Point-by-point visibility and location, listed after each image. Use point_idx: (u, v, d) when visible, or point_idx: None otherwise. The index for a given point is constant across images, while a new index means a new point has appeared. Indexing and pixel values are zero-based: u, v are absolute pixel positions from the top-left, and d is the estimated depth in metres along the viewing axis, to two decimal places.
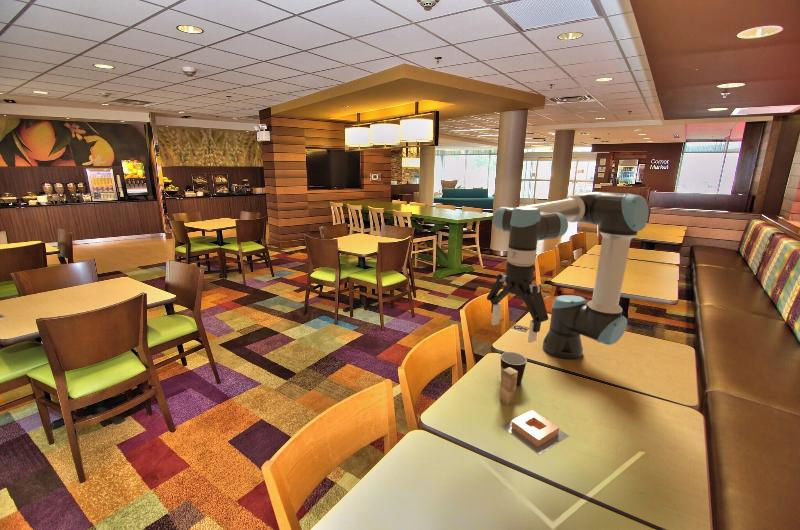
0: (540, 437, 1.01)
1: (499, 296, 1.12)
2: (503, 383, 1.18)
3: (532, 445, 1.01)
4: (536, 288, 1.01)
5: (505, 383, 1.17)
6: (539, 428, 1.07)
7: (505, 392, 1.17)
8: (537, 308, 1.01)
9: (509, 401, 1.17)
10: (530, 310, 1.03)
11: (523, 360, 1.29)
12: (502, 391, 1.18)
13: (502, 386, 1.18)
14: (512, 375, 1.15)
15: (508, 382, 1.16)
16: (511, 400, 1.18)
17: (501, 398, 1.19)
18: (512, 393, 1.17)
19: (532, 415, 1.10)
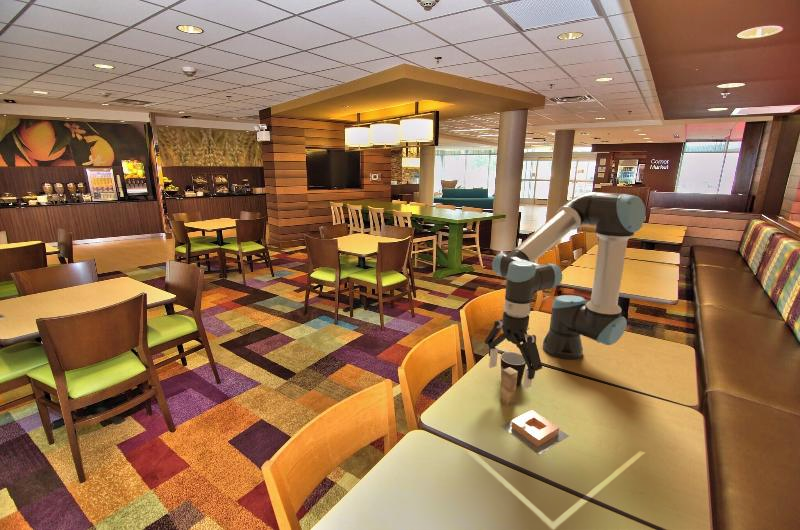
0: (540, 437, 1.01)
1: (496, 342, 1.18)
2: (503, 383, 1.18)
3: (532, 445, 1.01)
4: (531, 339, 1.07)
5: (505, 383, 1.17)
6: (539, 428, 1.07)
7: (505, 392, 1.17)
8: (531, 357, 1.07)
9: (509, 401, 1.17)
10: (525, 358, 1.09)
11: (523, 360, 1.29)
12: (502, 391, 1.18)
13: (502, 386, 1.18)
14: (512, 375, 1.15)
15: (508, 382, 1.16)
16: (511, 400, 1.18)
17: (501, 398, 1.19)
18: (512, 393, 1.17)
19: (532, 415, 1.10)
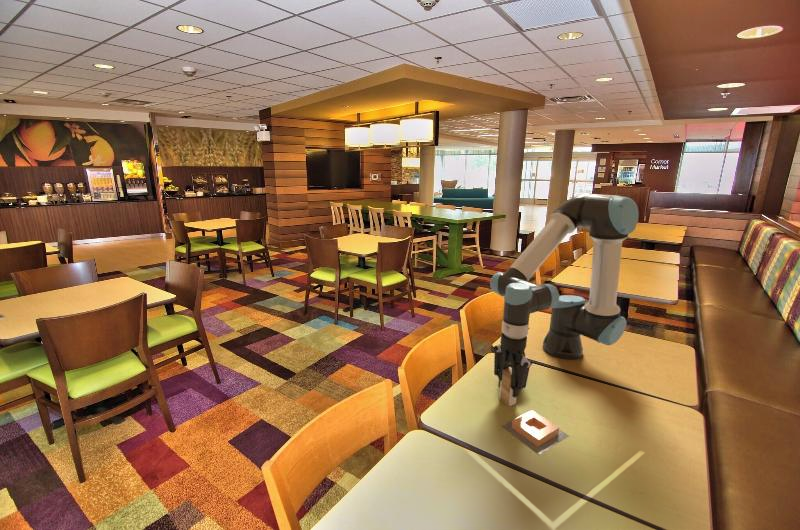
0: (540, 437, 1.01)
1: (502, 369, 1.18)
2: (503, 383, 1.18)
3: (532, 445, 1.01)
4: (527, 365, 1.09)
5: (505, 383, 1.17)
6: (539, 428, 1.07)
7: (505, 391, 1.17)
8: (520, 379, 1.12)
9: None
10: (513, 378, 1.14)
11: None
12: (502, 391, 1.18)
13: (502, 386, 1.18)
14: None
15: (508, 381, 1.16)
16: None
17: (501, 398, 1.19)
18: None
19: (532, 415, 1.10)
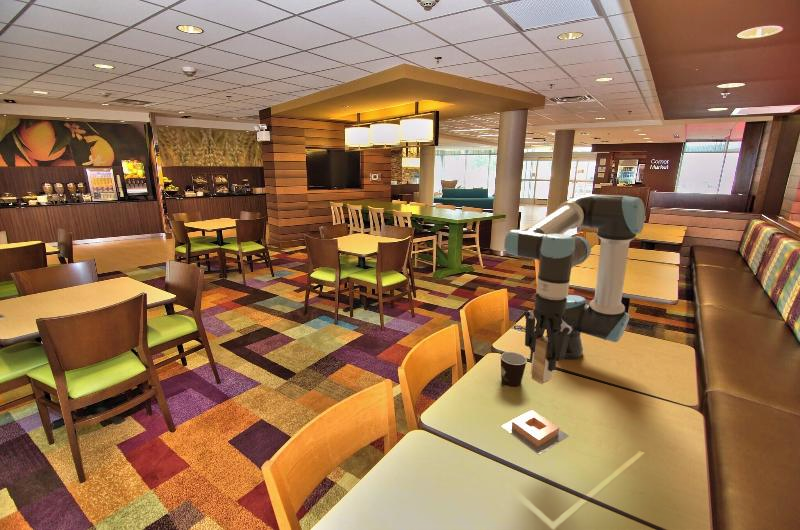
0: (540, 437, 1.01)
1: (535, 338, 1.00)
2: (536, 354, 1.00)
3: (532, 445, 1.01)
4: (568, 331, 0.92)
5: (538, 354, 0.99)
6: (539, 428, 1.07)
7: (539, 364, 1.00)
8: (558, 348, 0.94)
9: None
10: (550, 348, 0.97)
11: (523, 360, 1.29)
12: (535, 364, 1.01)
13: (535, 358, 1.00)
14: None
15: (542, 352, 0.98)
16: None
17: (533, 373, 1.02)
18: None
19: (532, 415, 1.10)
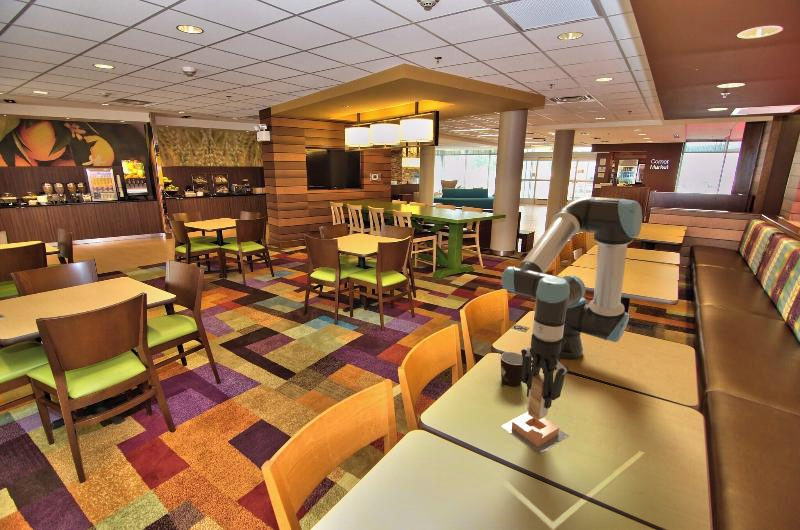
0: (540, 437, 1.01)
1: (532, 376, 1.03)
2: (533, 392, 1.03)
3: (532, 445, 1.01)
4: (563, 372, 0.95)
5: (535, 392, 1.02)
6: (539, 428, 1.07)
7: (535, 402, 1.03)
8: (554, 387, 0.97)
9: None
10: (545, 386, 1.00)
11: None
12: (531, 401, 1.04)
13: (531, 395, 1.03)
14: None
15: (539, 390, 1.01)
16: None
17: (530, 409, 1.04)
18: None
19: None
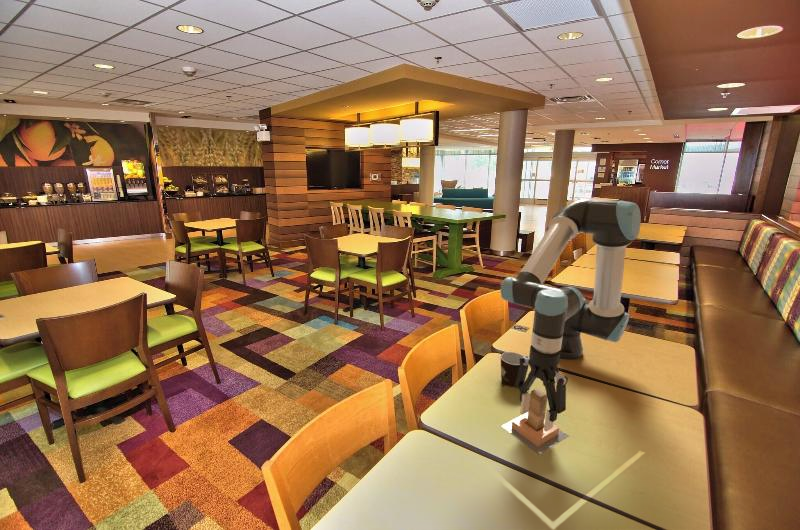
0: (540, 437, 1.01)
1: (527, 383, 1.05)
2: (531, 406, 1.04)
3: (532, 445, 1.01)
4: (562, 382, 0.95)
5: (533, 406, 1.03)
6: None
7: (533, 416, 1.04)
8: (557, 400, 0.97)
9: (538, 426, 1.04)
10: (549, 399, 0.99)
11: None
12: (529, 415, 1.05)
13: (530, 409, 1.05)
14: (542, 397, 1.01)
15: (537, 405, 1.02)
16: (540, 425, 1.05)
17: (528, 423, 1.06)
18: (541, 417, 1.04)
19: None
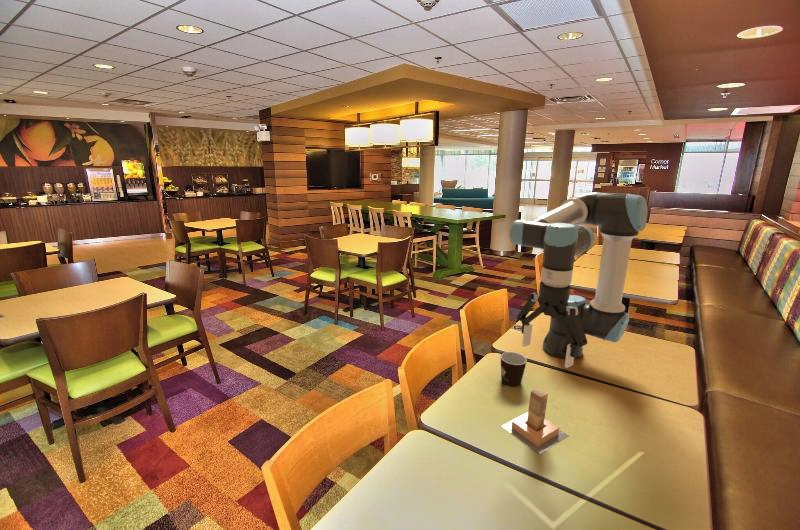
0: (540, 437, 1.01)
1: (531, 317, 1.05)
2: (531, 406, 1.04)
3: (532, 445, 1.01)
4: (574, 311, 0.94)
5: (533, 406, 1.03)
6: None
7: (533, 416, 1.04)
8: (575, 332, 0.94)
9: (538, 426, 1.04)
10: (567, 334, 0.96)
11: (523, 360, 1.29)
12: (529, 415, 1.05)
13: (530, 409, 1.05)
14: (542, 397, 1.01)
15: (537, 405, 1.02)
16: (540, 425, 1.05)
17: (528, 423, 1.06)
18: (541, 417, 1.04)
19: None
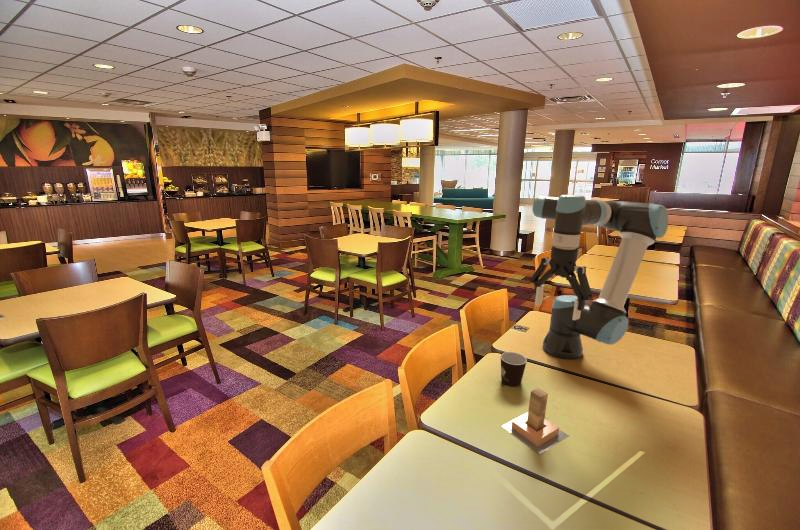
0: (540, 437, 1.01)
1: (543, 278, 1.20)
2: (531, 406, 1.04)
3: (532, 445, 1.01)
4: (581, 269, 1.09)
5: (533, 406, 1.03)
6: None
7: (533, 416, 1.04)
8: (582, 288, 1.09)
9: (538, 426, 1.04)
10: (575, 290, 1.11)
11: (523, 360, 1.29)
12: (529, 415, 1.05)
13: (530, 409, 1.05)
14: (542, 397, 1.01)
15: (537, 405, 1.02)
16: (540, 425, 1.05)
17: (528, 423, 1.06)
18: (541, 417, 1.04)
19: None
